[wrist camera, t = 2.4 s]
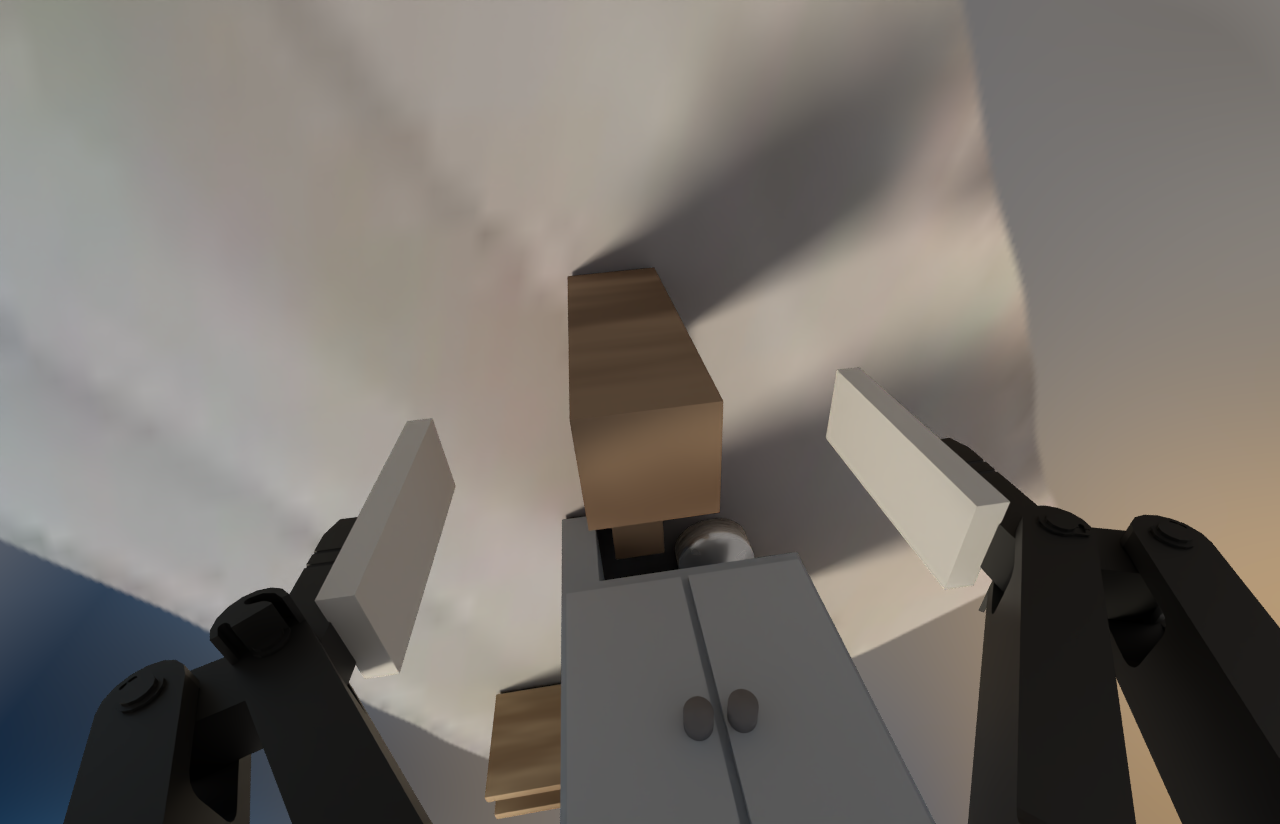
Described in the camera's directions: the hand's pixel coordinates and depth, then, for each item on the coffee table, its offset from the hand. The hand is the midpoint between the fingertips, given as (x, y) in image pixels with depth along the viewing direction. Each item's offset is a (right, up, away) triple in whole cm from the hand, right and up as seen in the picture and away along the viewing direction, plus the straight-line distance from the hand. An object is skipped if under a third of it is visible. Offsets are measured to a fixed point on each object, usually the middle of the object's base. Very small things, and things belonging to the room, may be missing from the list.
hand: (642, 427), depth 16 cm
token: (+5, -9, +18) cm, 20 cm away
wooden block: (-1, 0, +11) cm, 11 cm away
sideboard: (+2, -10, +18) cm, 20 cm away
